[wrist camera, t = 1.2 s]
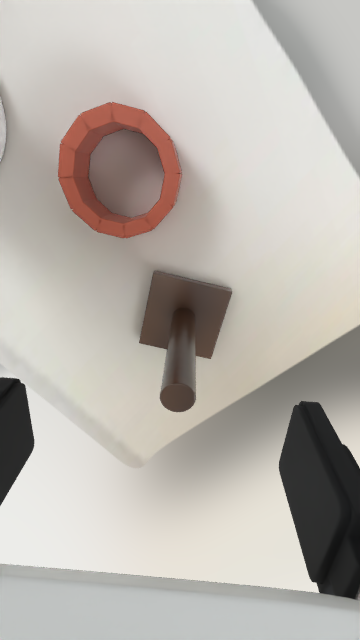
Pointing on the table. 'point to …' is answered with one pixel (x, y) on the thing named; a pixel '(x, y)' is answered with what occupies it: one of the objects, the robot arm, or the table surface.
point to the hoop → (77, 162)
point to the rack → (182, 331)
